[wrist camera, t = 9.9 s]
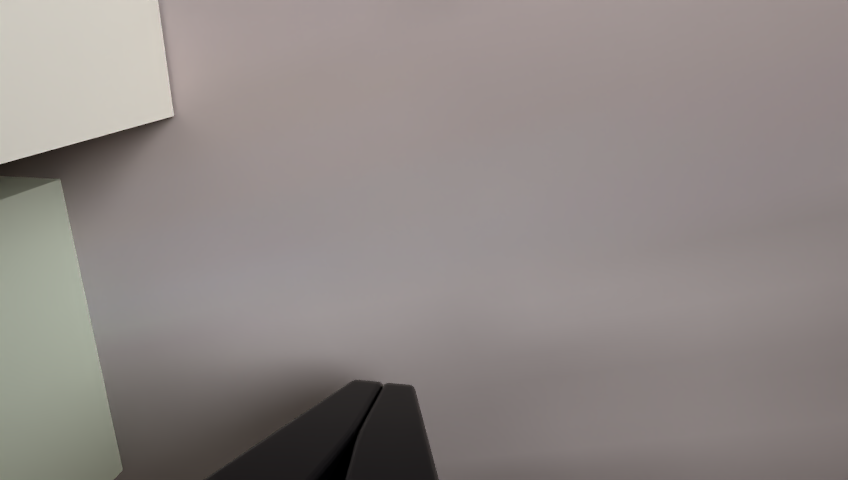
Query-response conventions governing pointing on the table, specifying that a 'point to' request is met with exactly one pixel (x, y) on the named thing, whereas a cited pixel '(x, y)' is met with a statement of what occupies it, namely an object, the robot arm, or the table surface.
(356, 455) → the robot arm
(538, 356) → the table surface
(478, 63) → the table surface
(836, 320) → the table surface
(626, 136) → the table surface
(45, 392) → the cabinet block
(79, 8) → the cleat board
